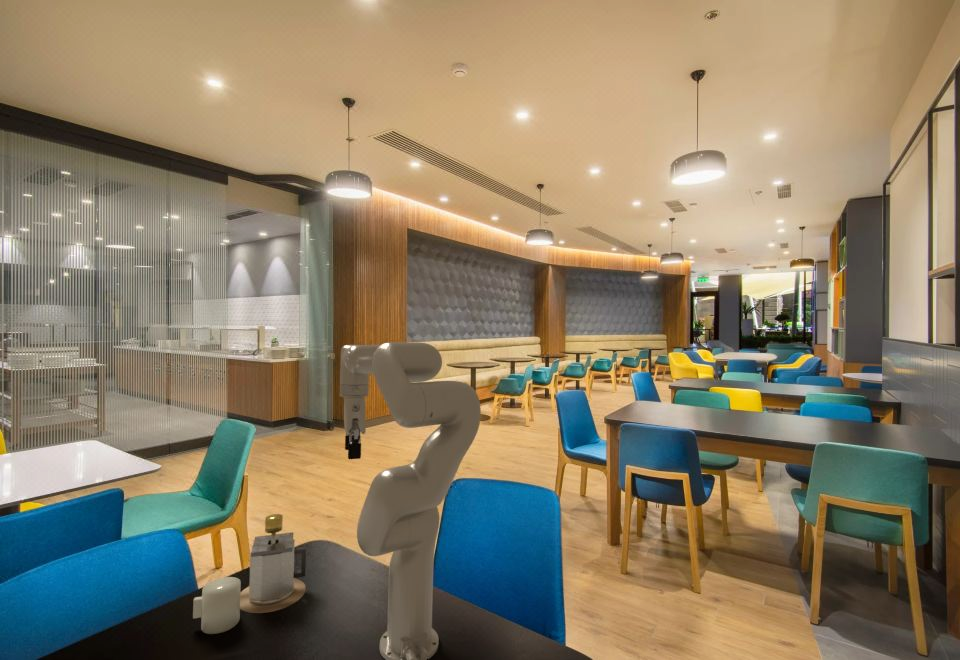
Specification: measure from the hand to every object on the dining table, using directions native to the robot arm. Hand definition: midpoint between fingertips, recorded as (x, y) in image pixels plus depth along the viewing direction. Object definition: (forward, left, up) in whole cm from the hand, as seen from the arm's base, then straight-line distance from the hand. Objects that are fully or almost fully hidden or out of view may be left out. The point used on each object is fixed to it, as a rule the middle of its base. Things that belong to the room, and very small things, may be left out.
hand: (352, 453), depth 124 cm
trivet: (-1, +19, -34) cm, 39 cm away
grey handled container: (-1, +18, -34) cm, 38 cm away
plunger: (-1, +19, -32) cm, 37 cm away
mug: (-10, +29, -34) cm, 46 cm away
